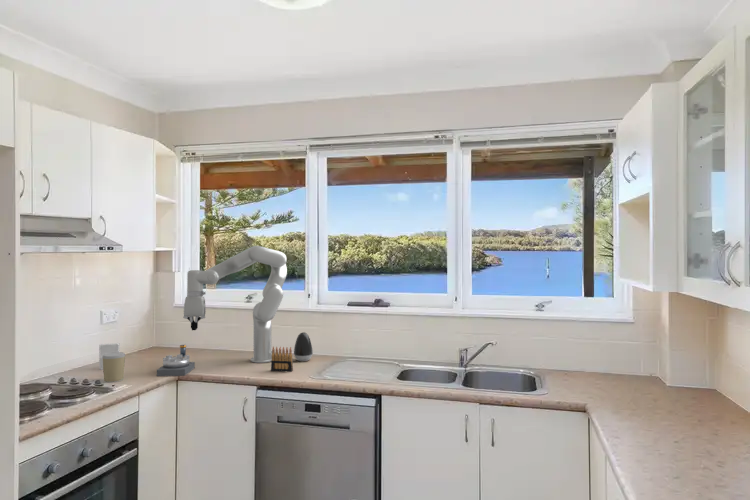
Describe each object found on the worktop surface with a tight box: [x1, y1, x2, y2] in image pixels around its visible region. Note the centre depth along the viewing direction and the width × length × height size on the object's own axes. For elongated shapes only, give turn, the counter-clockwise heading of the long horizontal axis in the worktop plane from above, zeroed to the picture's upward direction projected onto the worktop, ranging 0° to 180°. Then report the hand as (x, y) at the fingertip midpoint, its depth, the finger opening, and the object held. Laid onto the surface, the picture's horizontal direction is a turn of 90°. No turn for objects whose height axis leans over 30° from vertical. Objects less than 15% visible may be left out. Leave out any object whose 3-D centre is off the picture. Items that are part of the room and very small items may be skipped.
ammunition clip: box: [270, 346, 294, 373], centre depth 243 cm, size 11×2×12 cm, turn 82°
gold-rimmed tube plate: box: [162, 344, 190, 368], centre depth 244 cm, size 18×12×8 cm, turn 5°
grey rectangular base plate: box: [156, 361, 196, 377], centre depth 241 cm, size 13×16×3 cm
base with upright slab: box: [98, 342, 120, 371], centre depth 249 cm, size 9×9×12 cm
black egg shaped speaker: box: [293, 331, 314, 362], centre depth 267 cm, size 10×10×15 cm
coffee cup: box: [102, 351, 126, 383], centre depth 225 cm, size 9×9×12 cm
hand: (194, 329), depth 252 cm, fingers closed
